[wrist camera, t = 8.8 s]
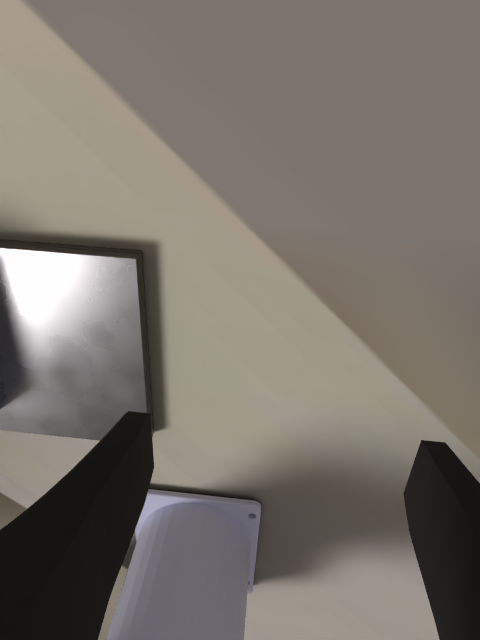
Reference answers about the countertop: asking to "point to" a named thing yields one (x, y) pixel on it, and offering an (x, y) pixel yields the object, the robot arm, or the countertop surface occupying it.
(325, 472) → the countertop surface
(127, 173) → the countertop surface
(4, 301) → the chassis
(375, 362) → the countertop surface
